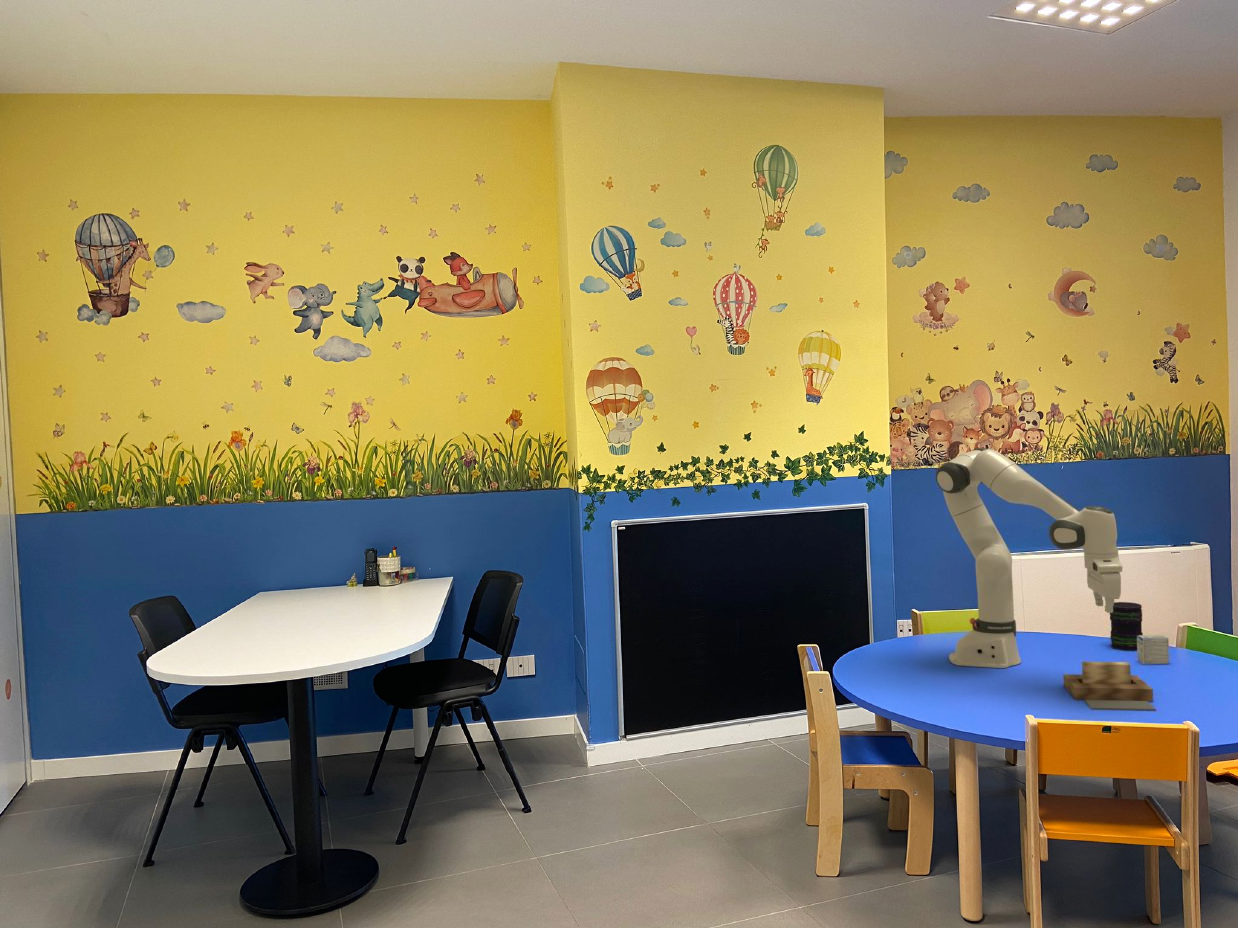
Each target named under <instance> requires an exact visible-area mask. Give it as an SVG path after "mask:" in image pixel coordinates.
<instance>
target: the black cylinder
mask: <svg viewBox="0 0 1238 928" xmlns="http://www.w3.org/2000/svg"><path fill="white" fill-rule="evenodd" d="M1142 608H1143V607H1142V604H1140V603H1136V602H1128V601H1127V602H1126V601H1117V602H1116V601H1114V605H1113V612H1112V613H1109V620H1110V629H1111V630H1110V643H1111V644H1110V648H1112V649H1113V650H1117V651H1124V652H1137V636H1140V635H1144V633H1143V630H1142V628H1143V627H1142V623H1143V609H1142Z"/></svg>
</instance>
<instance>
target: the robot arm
mask: <svg viewBox="0 0 1238 928" xmlns="http://www.w3.org/2000/svg"><path fill="white" fill-rule="evenodd" d="M935 481H936V483H937V485H938V487H939V488H940V490H942V492H943V493H942V494H943V497H944V500H945V503H946V506H947V508H948V511H949V513H950V515H951V518H952V519H953V521H954V523H955V525H956V527H957V530H958V531H959V534H960V536H961V537H962V539H963V541H964V542H965V543H966V545H967V547H968V548H969V550H970V553H971V554H972V556H973V558H974V559H975V563H974V564H975V565H974V566H975V577H976V591H977V608H978V610H977V611H978V613H977V615H978V618H976V619H975V618H974V617H971V618H970V619H969V623H970V624H971V625H972V630H970V631H969V632H968V633H966V634H965V635H963V636H962V637H961V638H959V639H958V640H957V643H956V645H955V652H952V653H950V654H949V656H948V660H949V661H950V663H952V664H953V665H956V666H959V667H960V666H961V667H963V666H964V667H978V668H994V669H995V668H998V669H1006V668H1008V667H1011V666H1017V665H1019V664H1021V662H1022V660H1021V657H1020V654H1019V650H1018V645H1017V640H1016V637H1017V622H1016V619H1015V612H1014V611H1015V609H1014V607H1015V606H1014V589H1013V557H1012V554H1011V552H1010V549H1009V547H1008V546H1007V544H1006V542H1005V541H1004V539H1003V537H1002V535H1001V533H1000V532H999V530H998V529H997V527H996V525H995V523H994V521H993V519H992V516H991V515H990V514H989V511H988V509H987V507H986V505H985V504H984V501H983V500H982V498H981V495H979V492H978V486H979V485H980V484H983V485H985V486H986V487H987V488H988V489H990V491H991V492H993V493H994V494H995V495H996V496H997V497H999V498H1000V499H1002V500H1004V501H1005V502H1007V503H1010V504H1017V505H1018V504H1020V505H1027V506H1028V505H1029V506H1032V507H1036V508H1038V509H1039V510H1040V509H1041V510H1042V511H1043V512H1045V514H1047V515H1049V516H1050V517H1052V518H1053V519H1055V521H1053V522H1052V523H1051V525H1050V526H1049V530H1048V537H1049V540H1050V542H1051V543H1052V545H1054V546H1055V547H1056V548H1058V549H1060V550H1065V551H1069V550H1077V549H1083V558H1084V559H1083V560H1084V568H1085V569H1086V578H1087V579H1086V580H1087V581H1086V582H1087V587H1088V589H1091V591H1093V592H1092V593H1093V597H1094V600H1095V601H1094V602H1095V605H1096V606H1097V607H1104V611H1105V612H1106V613H1109V614H1110V613H1112V612H1113V605H1114V602H1115V600H1119V599H1120V598H1121V593H1122V576H1121V573H1122V572H1123V565H1122V563H1121V562H1120V557H1119V549H1118V546H1117V539H1118V530H1117V529H1118V528H1117V523H1116V522H1117V521H1116V518H1115V514H1114V512H1113V511H1112V510H1111V509H1109V508H1107V507H1103V506H1098V505H1097V506H1094V505H1089V506H1088V505H1087V506H1085V507H1084V508H1083V509H1081V510H1080V509H1078V508H1076V507H1075V506H1074V505H1072V504H1071V503H1070V502H1068V501H1066V500H1065V498H1062V497H1061V496H1060V495H1058V494H1057V493H1056V492H1054V491H1053V490H1051V489H1050V488H1048V487H1046V486H1045V485H1044V484H1042V483H1041V482H1039V481H1038V480H1036V479H1035V478H1034V477H1033V476H1031V475H1030V474H1029V473H1028V472H1026V471H1025V470H1024V469H1023V468H1021V466H1020V465H1018V464H1016V463H1015V462H1014V461H1013V460H1011V459H1010V458H1009V457H1007V456H1005V455H1004V454H1002V453H1000V452H998V451H996V450H995V449H992V448H991V449H990V448H985V447H978V448H973V449H972V450H970V451H967V452H964V453H962V454H959V455H957V456H956V457H954V458H953V459H951V460H949V461H947V462H945V463H943V464H941V465H940V466H939V467H938V469H936V473H935ZM1103 598H1104V600H1103ZM1104 601H1105V604H1104Z"/></svg>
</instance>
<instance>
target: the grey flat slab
mask: <svg viewBox="0 0 1238 928" xmlns="http://www.w3.org/2000/svg"><path fill="white" fill-rule="evenodd" d="M1084 703H1086V704H1087V706H1088V707H1089V709H1091V710H1101V711H1102V710H1104V711H1105V710H1106V711H1108V710H1109V711H1146V712H1147V711H1150V712H1151V711H1152V712H1153V711H1154V712H1155V711H1157V709H1156V707H1155V706H1153V705H1152V704H1151V703H1150V701H1117V700H1084Z"/></svg>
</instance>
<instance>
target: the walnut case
mask: <svg viewBox="0 0 1238 928" xmlns="http://www.w3.org/2000/svg"><path fill="white" fill-rule="evenodd" d="M1062 677H1063V681H1062V682H1063V687H1064V688H1065V689H1066V690H1067V691H1068V693H1069V694H1070V695H1071V696H1072V698H1073V699H1074V700H1075V701H1085V700H1117V701H1148V702H1154V689H1153V688H1152V687H1151V686H1150V685H1149V684H1148V683H1146V682H1145V681H1144V680H1143V679H1142V678H1141V677H1139V676H1138V675H1135V674H1134V675H1133V674H1131V684H1098V683H1083V677H1082V674H1072V673H1071V674H1064V673H1063V674H1062Z"/></svg>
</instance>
